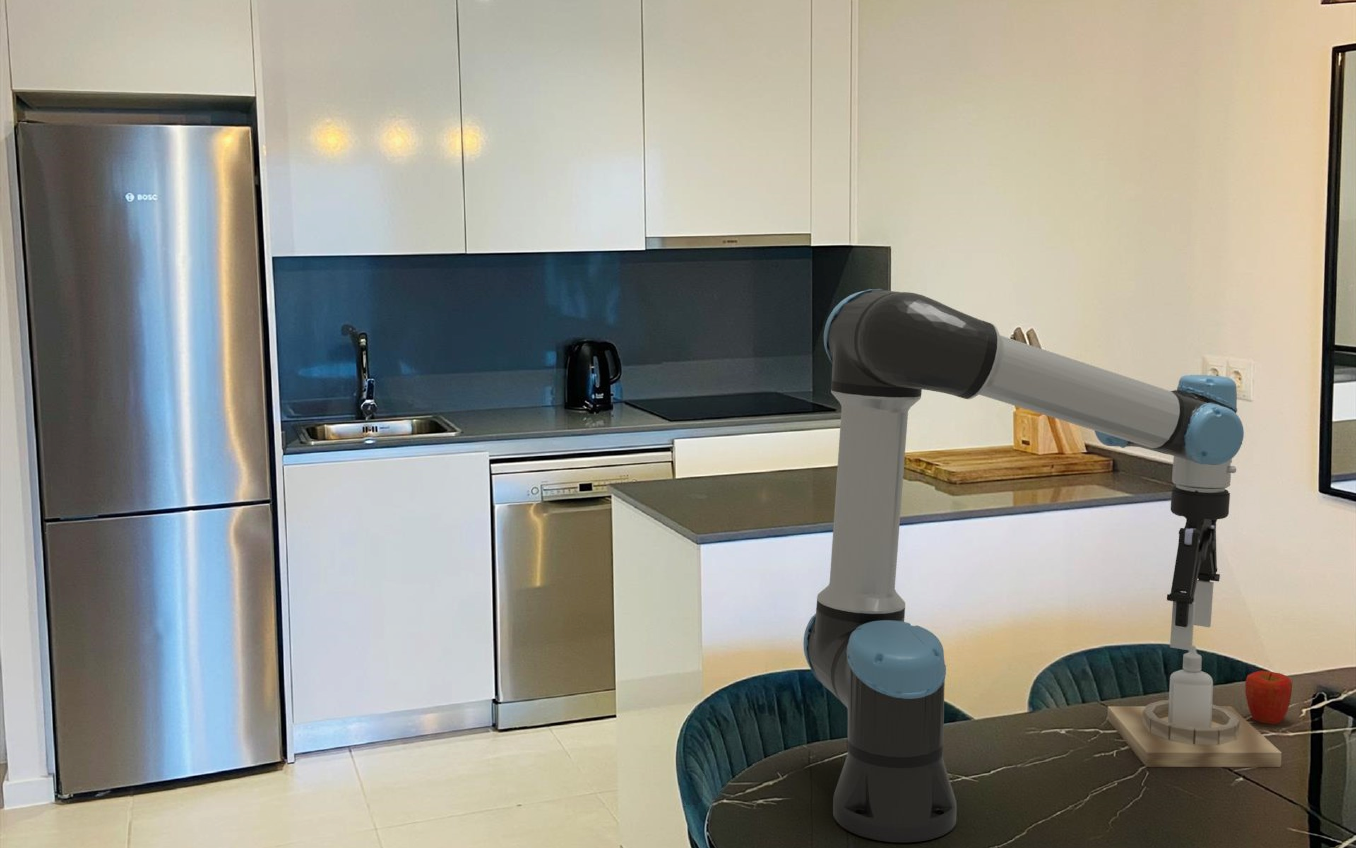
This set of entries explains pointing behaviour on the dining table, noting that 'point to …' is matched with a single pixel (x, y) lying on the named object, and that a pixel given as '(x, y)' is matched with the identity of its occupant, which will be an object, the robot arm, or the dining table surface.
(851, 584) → the robot arm
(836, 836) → the dining table surface
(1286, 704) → the apple
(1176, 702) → the eye dropper bottle
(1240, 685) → the dining table surface
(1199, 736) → the socket stand
